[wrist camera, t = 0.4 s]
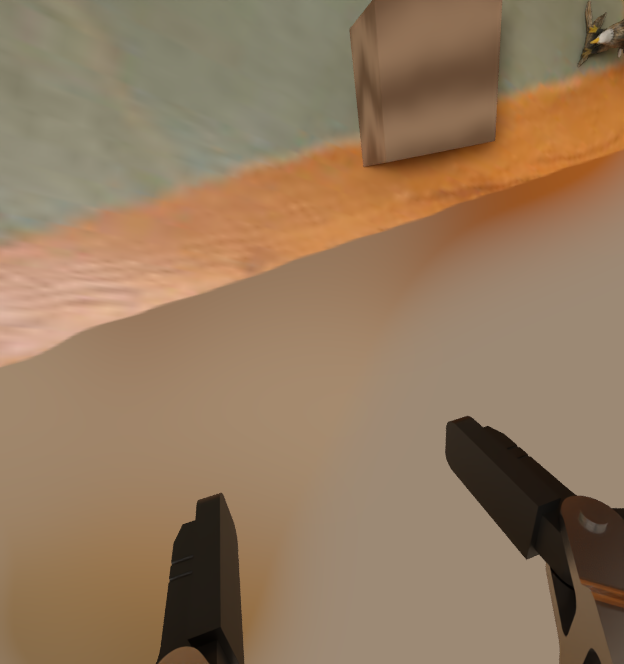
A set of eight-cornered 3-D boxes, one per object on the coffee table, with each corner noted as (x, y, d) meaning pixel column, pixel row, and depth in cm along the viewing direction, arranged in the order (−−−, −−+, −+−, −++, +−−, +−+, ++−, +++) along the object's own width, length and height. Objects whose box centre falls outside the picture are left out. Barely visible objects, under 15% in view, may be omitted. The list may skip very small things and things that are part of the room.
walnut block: (348, 30, 32) (374, -3, 27) (458, 16, 34) (502, -18, 29) (362, 166, 37) (386, 162, 32) (457, 148, 39) (495, 140, 34)
